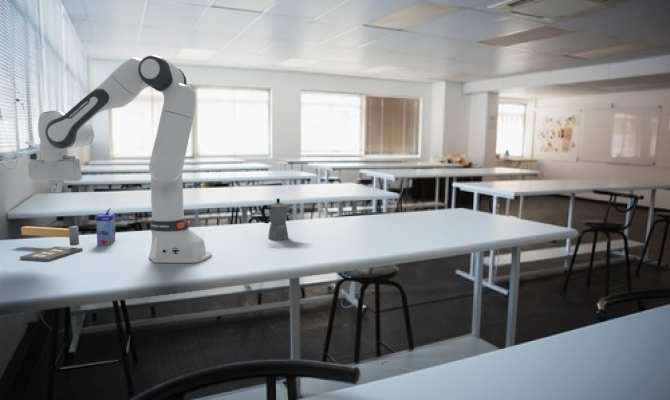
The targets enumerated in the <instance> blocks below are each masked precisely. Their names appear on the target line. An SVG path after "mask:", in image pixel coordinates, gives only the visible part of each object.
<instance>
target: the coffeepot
mask: <svg viewBox="0 0 670 400" xmlns="http://www.w3.org/2000/svg"><path fill="white" fill-rule="evenodd" d="M275 201H276V202H274V203H270V204H264V205H262V207H261V208H260V214H261V216H262V219H263V223H264V224H269V223H270V224H269V230H268V235H267V237H268V239H269V240H270V241H284V240H287V239H289V233H288V227H287V223H286V221H287V220H288V212H289V208H290V207H291V206H292V205H291V204H289V203H283V202H280V201H281V198H276V200H275ZM266 210H268V215H269V220H267V216H266Z"/></svg>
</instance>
